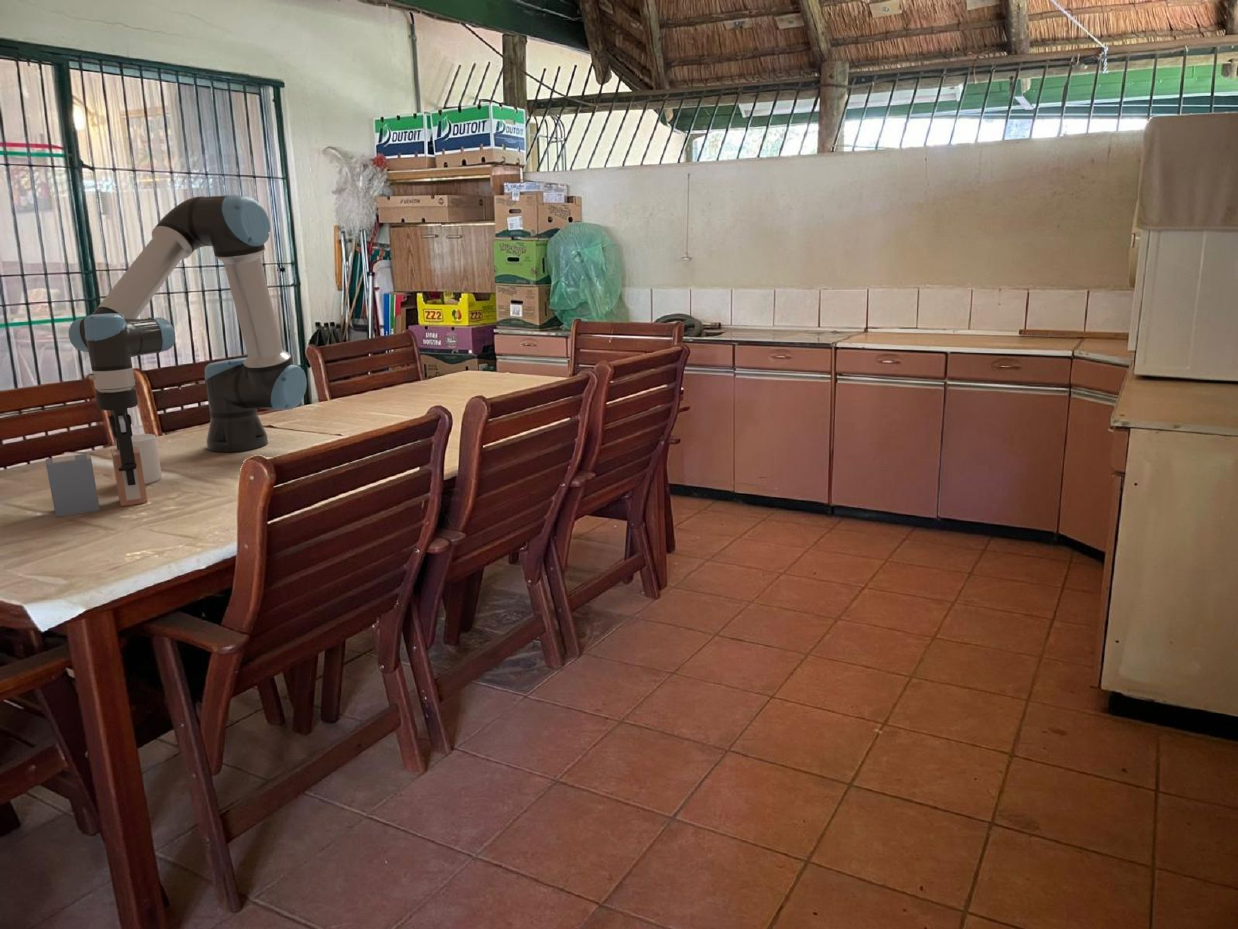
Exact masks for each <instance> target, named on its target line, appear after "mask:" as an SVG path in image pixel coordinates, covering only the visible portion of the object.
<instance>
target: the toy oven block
mask: <svg viewBox="0 0 1238 929" xmlns="http://www.w3.org/2000/svg"><path fill="white" fill-rule="evenodd" d="M45 466H46V472H47V476H48V481H49V482H48V484H49V488H50V494H51V499H52V505H53V510H54V514H55V518H57V517H63V516H65V517H66V516H71V515H76V514H83V513H90V512H96V511H100V510H101V509H100V508H101V507H100V502H99V496H98V495H99V494H98V491H97V490H98V489H97V485H96V479H95V473H94V466H93V461H92V457H91V453H90V452H86V453H82V454H81V453H80V454H75V455H65V456H59V457H52V458H50V457H49V458H45Z"/></svg>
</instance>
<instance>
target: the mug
mask: <svg viewBox="0 0 1238 929" xmlns="http://www.w3.org/2000/svg"><path fill="white" fill-rule="evenodd" d="M131 439H132V445H133V447H137V448H138V450H139V452H140V458H141V464H142V470H143V477H144V483H145V485H149V484H153V483H155V482H158V481H160V480H161V479H162V469H161V463H160V457H159V449H158V442H157V437H156V435H155V434H151V433H138V434H133V435H132V437H131ZM114 442H116V439H115V441H114ZM115 446H116V448H117V444H116V443H115Z"/></svg>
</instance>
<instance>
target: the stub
mask: <svg viewBox="0 0 1238 929" xmlns="http://www.w3.org/2000/svg"><path fill="white" fill-rule="evenodd" d="M133 451H134V457H135V463H136V465H137V466H136V470H137V476H138V482H139V489H140V495H141V498H140V499H133V500H126V493H125V487H124V481H123V475H122V471H119V470H118V468H121V467H122V463H121V458H120V452H119V449H117V448H116V449H114V448H112V449H110V452H111V458H112V464H113V471H114V475H115V482H116V487H117V488H116V489H117V494H118V501H119V503H120V504H119V505H120V506H121V507H125V506H133V505H139V504H145V503H148V497H147V491H146V490H147V488H146V484H145V483H144V477H143V470H142V464H141V458H140V452H139V450H138V448H137V447H133Z"/></svg>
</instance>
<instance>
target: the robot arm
mask: <svg viewBox="0 0 1238 929" xmlns="http://www.w3.org/2000/svg"><path fill="white" fill-rule="evenodd" d="M270 232H271V223H270V219H269V216H268V214H267V212H266V210H265V208H264V207H263V206H262V204H261V203H259V202H258V201H257V200H256V199H255V198H253V197H251V196H248V195H236V194H229V195H228V194H227V195H224V194H223V195H211V196H204V195H203V196H202V195H201V196H194V197H191V198H188V199H185V200H184V201H182V202H181V203H179V204H177V205H176V206H174V207H173V208H172V209H171V210H170V211H168V213H166V214H165V215H164V216H163V217H162V218H161V219H160V221H158V223H157V224H156V226H154V228H153V229H152V230H151V240H150V241H148V243H147V245H145V247H144V248H143V249H142V251H140V253H139V255H137V257H136V259H134V261H133V262H132V263H131V264H130V266H129V267H128V269H127V270H125V272H124V273H123V275H122V276H121V277H120V278H119V280H117V282H116V284H115V285H114V286H113V287H112V289H111V290H110V291H109V292H108V293H107V295H106V296H105V298H103V300H102V301H101V302H100V303H99V305H98V307H96V309H95V310H94V311H93V312H92V314H90V315H87V316H85V317H81V318H78V319H75V320H73V321H72V323H71V324H70V325H69V327H68V339H69V341H70V343H71V345H72V346H73V347H74V348H75V349H76V350H78V351H80V352H82V353H83V352H84V353H88V357H89V362H90V369H91V374H90V375H89V376H88V377H89V380H91V381H92V380H93V384H94V385H93V386H94V389H95V390H97V391H96V392H95V399H96V405H97V408H98V410H102V411H112V413H111V415H110V416H108V420H109V424H110V426H111V431H112V435H113V439H115V440H116V441H115V445H116V444H117V447H116V450H117V449H119V452H120V458H121V463H122V467H121V468H118V470H119V471H122V475H123V481H124V487H125V493H126V500H133V499H140V498H141V495H140V489H139V482H138V476H137V470H136V466H137V465H136V463H135V457H134V451H133V445H132V439H131V437H132V435H134V434H133V428H132V423H133V422H132V416H131V415H130V413H127V412H126V410H127V409H133V408H135V407H137V406H138V403H139V402H138V395H137V390H136V389H135V387H134V386H136V380H135V374H134V368H133V362H132V358H135V357H138V356H145V355H146V356H147V355H152V354H160V353H162V352H165V351H169V350H170V349H172V348H173V347H174V345H175V342H176V333H175V328H174V326H173V325H172V324H171V322H170V321H169V320H168V319H166V318H164V317H148V318H138V317H139V316H140V315H141V313H142V312H143V311H144V309H145V308H146V307H147V305H148V304H149V303H150V301H151V300H152V299H153V297H154V296H155V295H156V293H157V292H158V291H159V290H160V288H161V287H162V286H163V284H164V283H165V282H166V280H167V279H168V278H169V276H171V274H172V272H173V271H174V270H175V268H177V266H178V265H179V263H180V262H181V261H182V260H183V259H184V260H185V259H188V258H189V257H190V256H191V255H192V254H193V252H195V251H196V250H197V249H200V248H203V247H212V251H213V253H214V256H215V258H216V259H218V260H219V261H221V262H222V263H223V264H224V265H223V266H224V268H225V273H226V277H227V281H228V285H229V287H230V288H229V289H230V292H231V295H232V299H233V304H234V307H235V312H236V315H237V319H238V323H239V327H240V330H241V334H242V338H243V341H244V346H245V349H246V354H247V356H246V357H239V358H234V359H227V360H221V361H216V362H211V363H208V364H207V365H206V366H205V368H204V384H205V389H206V396H207V401H208V402H207V403H208V409H209V415H210V423H209V427H208V432H207V435H206V436H207V437H206V446H207V447H206V449H207V450H209V451H210V452H211V451H212V452H217V453H229V452H231V453H232V452H233V453H234V452H241V451H242V452H243V451H249V450H254V449H258V448H262V447H265V446H266V445H268V443H269V442H268V441H269V440H268V434H267V432H266V430H265V428H264V426H263V423H262V422H261V419H260V417H259V415H258V409H259V410H273V411H274V410H275V411H278V412H279V411H283V410H284V411H289V410H292V409H294V408H295V409H296V407H298V406H299V405H300V404H301V402H302V400H303V399H304V396H305V394H306V391H307V383H308V382H307V377H306V373H305V371H304V369H303V368H302V367H301V366H300V365H297V364H293V360H292V356H291V354H290V352H288V351H286V350H285V349H284V348H283V345H282V341H281V336H280V332H279V327H278V324H277V320H276V316H275V312H274V309H273V303H272V299H271V295H270V291H269V287H268V283H267V279H266V275H265V271H264V266H263V262H262V259H261V257H262V254H264V252H265V251H266V247H265V244H266V243H267V242H268V240H269V238H270Z"/></svg>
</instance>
